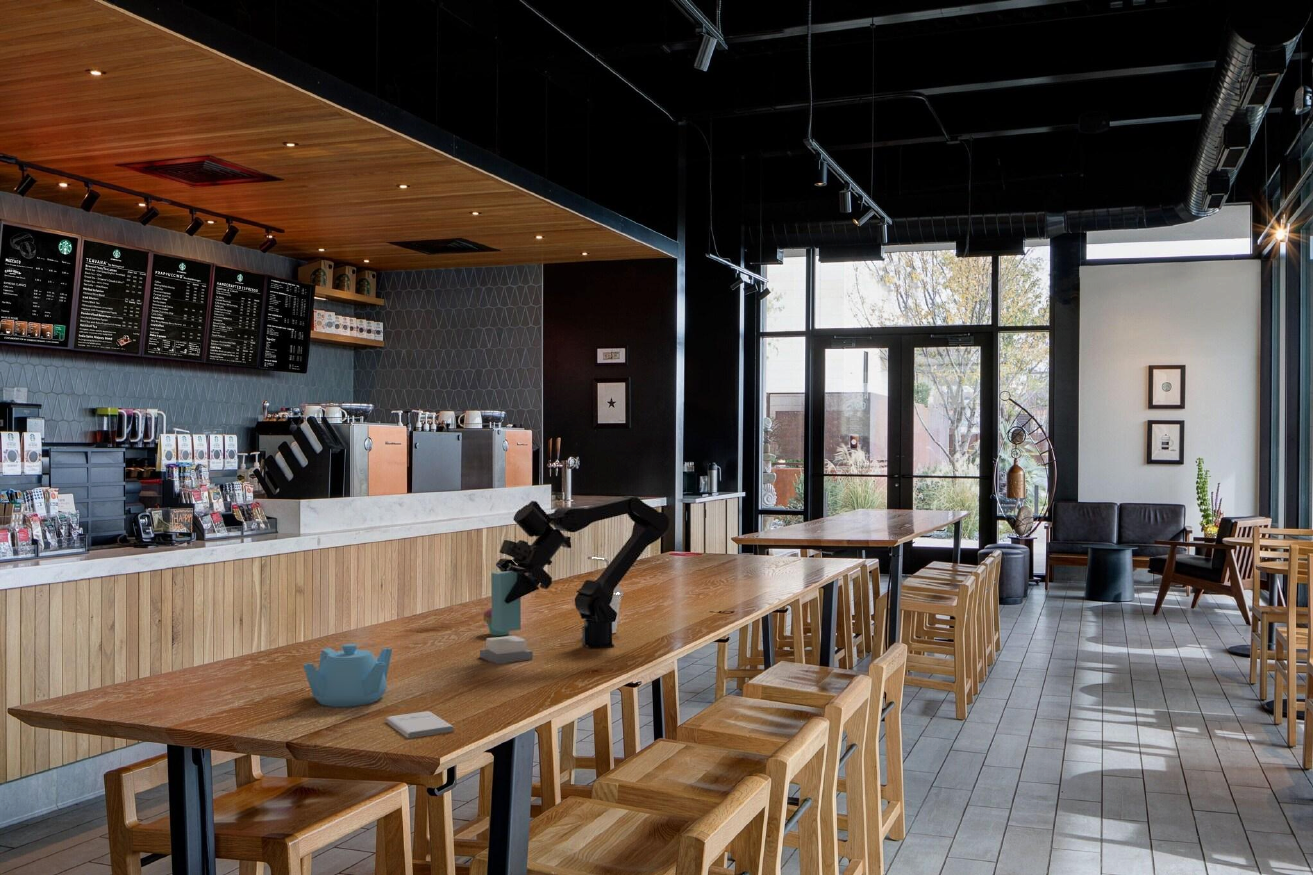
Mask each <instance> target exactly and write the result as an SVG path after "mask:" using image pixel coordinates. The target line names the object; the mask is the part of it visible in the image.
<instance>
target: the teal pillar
mask: <svg viewBox="0 0 1313 875" xmlns="http://www.w3.org/2000/svg"><path fill="white" fill-rule="evenodd" d="M490 580H491V608H492V629H494V630H497V631H499V632H506V631H510V632H513V631H520V630H521V629H522V628H521V624H522V621H521V619H522V618H521V616H522V614H521V613H522V610H521V608H522V606H521V604H522V603H521V600H522V599H521V598H522V597H520V598H518V599H516V600H514V601H513V602H511V603H509V604H507V603H506V602H505V599H506V597H507V595H508V594H509V592H510V591H511V589H512V587H513V586H514V584H515V583H516V581H517V573H516V572H513V571H505V572H501V571H497V572H495V571H494V572H491V579H490Z"/></svg>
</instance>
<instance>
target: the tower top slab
mask: <svg viewBox="0 0 1313 875" xmlns="http://www.w3.org/2000/svg"><path fill="white" fill-rule="evenodd" d="M485 644H486V648H485V649H487V650H489V651H492V652H494V653H496V654H505V653H514V652H523V651H526V649H527V640H526V639H524V638H521V637H519V636H517V635H505V636H500V637H499V636H498V637H488V638H486V643H485Z"/></svg>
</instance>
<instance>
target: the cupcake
mask: <svg viewBox="0 0 1313 875" xmlns="http://www.w3.org/2000/svg"><path fill="white" fill-rule="evenodd" d="M483 621H484V622H485V623H486V624H487V627H488V630H489V633H490V635H491V636H498V637H499V636H500V637H502V636H509V634H510V632H511V631H506V632H499V631H497V630H494V629H492V607H491V608H489V609H487V610H486V611H485V612H484V613H483Z"/></svg>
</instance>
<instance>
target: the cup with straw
mask: <svg viewBox="0 0 1313 875" xmlns="http://www.w3.org/2000/svg"><path fill="white" fill-rule="evenodd" d="M587 559H588V560H593V561H600V562H605V563H606V564H605V565H606V568H607V567H608V565H609V564H610V561H609V560H608V559H607V558H601V557H594V556H588V557H587ZM606 568H605V569H606ZM623 596H624V591H623V590H622V589H621V586H620V584H618V585H617V586H616V588H615V589H614V592H613V598H612V601H611V603H610V606H611V607H612V608H613V609H614V610H615V611H616V612H617V617H616V620H615V622H612V634H617V628H618V622H619V611H620V605H621V602H622V601H621V600H622V597H623Z"/></svg>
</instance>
